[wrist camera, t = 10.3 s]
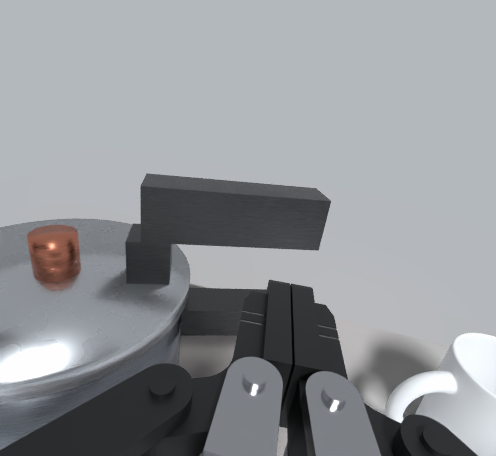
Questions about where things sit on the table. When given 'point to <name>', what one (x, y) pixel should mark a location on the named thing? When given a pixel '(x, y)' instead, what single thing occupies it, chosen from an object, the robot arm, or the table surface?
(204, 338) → the table surface
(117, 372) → the cooker pot
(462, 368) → the mug
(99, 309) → the cooker lid
